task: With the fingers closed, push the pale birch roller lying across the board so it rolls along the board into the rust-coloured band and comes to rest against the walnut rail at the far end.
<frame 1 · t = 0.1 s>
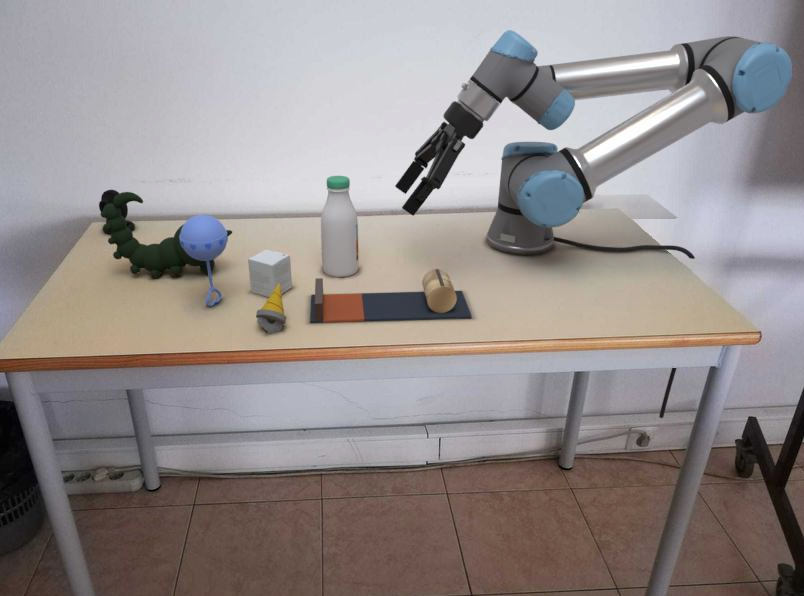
hand: (403, 200, 138), 15 cm above the table, tool tilted 35°, fingers open, 13 cm apart
toy figurine: (176, 273, 145), on the table
roller: (438, 290, 130), point 3 cm above the table, touching board
baby rattle: (212, 306, 132), on the table
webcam: (119, 230, 168), on the table
product box: (272, 291, 138), on the table
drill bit: (271, 326, 125), on the table
milk bottle: (340, 271, 146), on the table
board: (389, 307, 131), on the table
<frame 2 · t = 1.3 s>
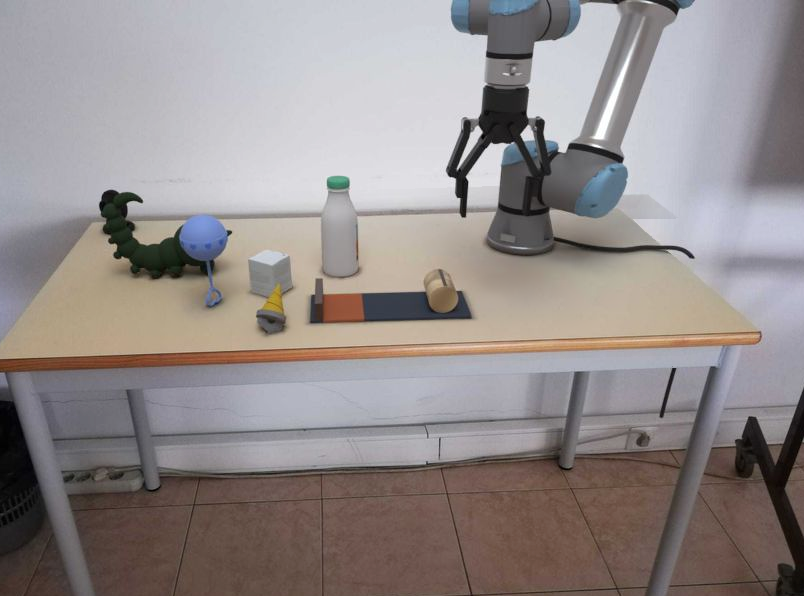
hand: (494, 214, 123), 18 cm above the table, tool pointing down, fingers open, 11 cm apart
roller: (440, 290, 130), point 3 cm above the table, tilted 6°, touching board
everything else where it was.
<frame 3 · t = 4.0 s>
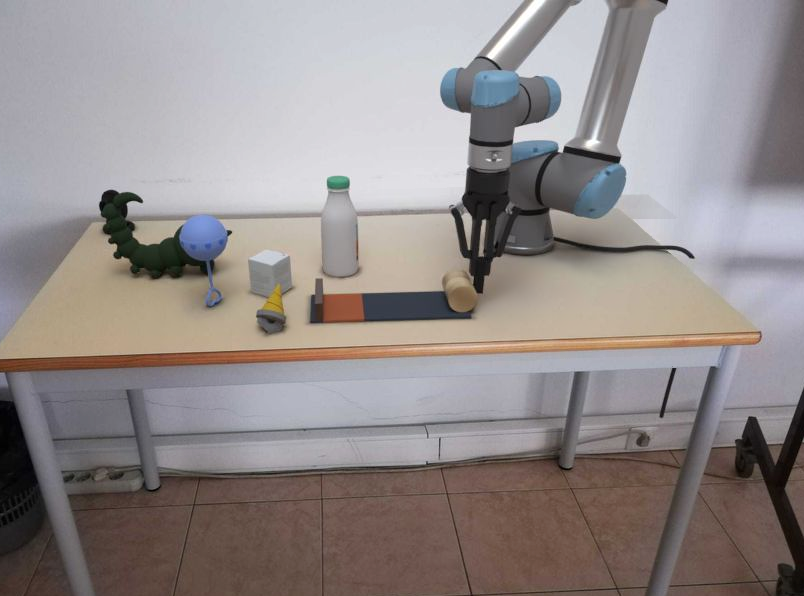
hand: (477, 290, 130), 3 cm above the table, tool pointing down, fingers closed
roller: (459, 290, 130), point 3 cm above the table, tilted 90°, touching board
everything else where it was.
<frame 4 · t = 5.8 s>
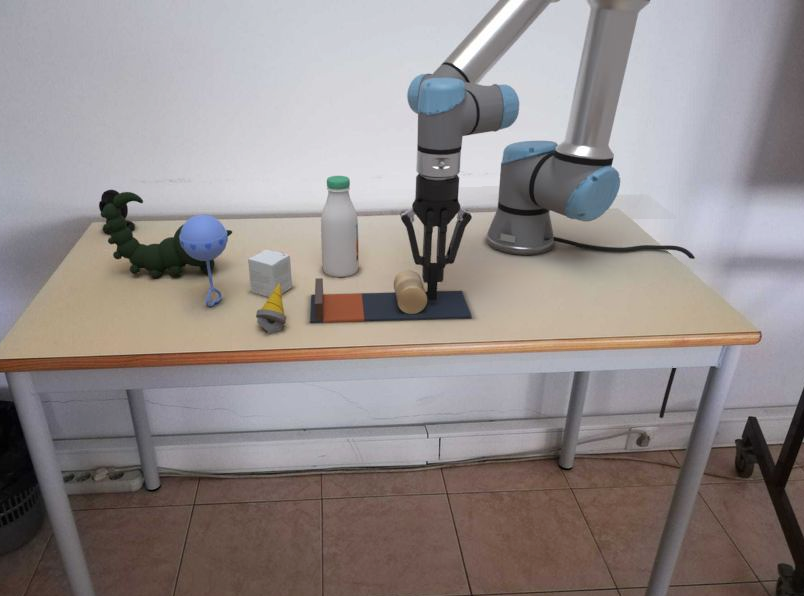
hand: (431, 296, 130), 2 cm above the table, tool pointing down, fingers closed
roller: (410, 291, 129), point 3 cm above the table, tilted 107°, touching board
everything else where it was.
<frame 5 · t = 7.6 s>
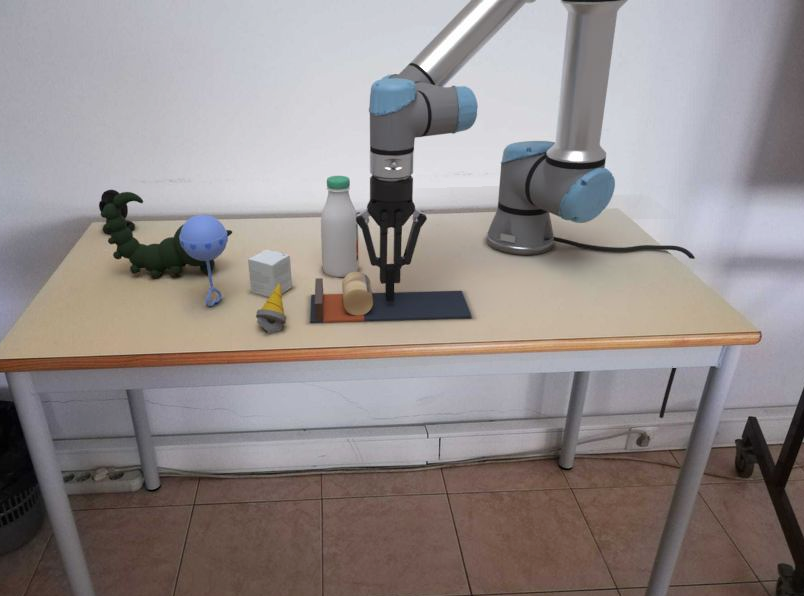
hand: (389, 297, 130), 2 cm above the table, tool pointing down, fingers closed
roller: (357, 293, 129), point 3 cm above the table, tilted 45°, touching board
everything else where it was.
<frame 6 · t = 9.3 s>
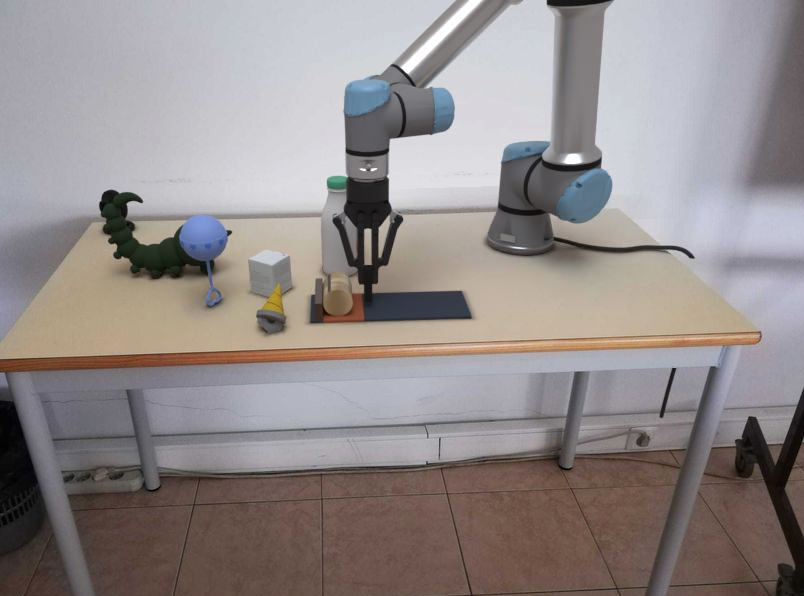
hand: (368, 298, 130), 2 cm above the table, tool pointing down, fingers closed
roller: (337, 293, 129), point 3 cm above the table, tilted 33°, touching board
everything else where it was.
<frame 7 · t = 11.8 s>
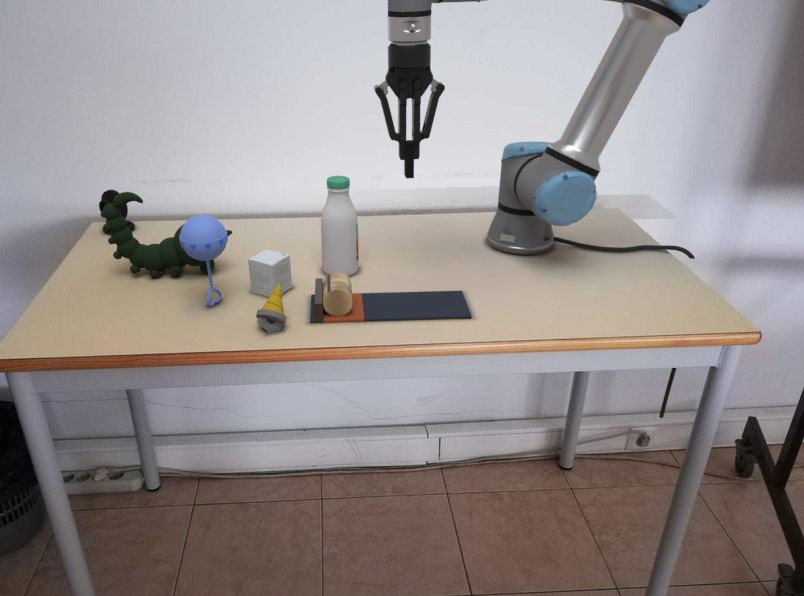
hand: (409, 176, 131), 22 cm above the table, tool pointing down, fingers closed
nothing on the table moved.
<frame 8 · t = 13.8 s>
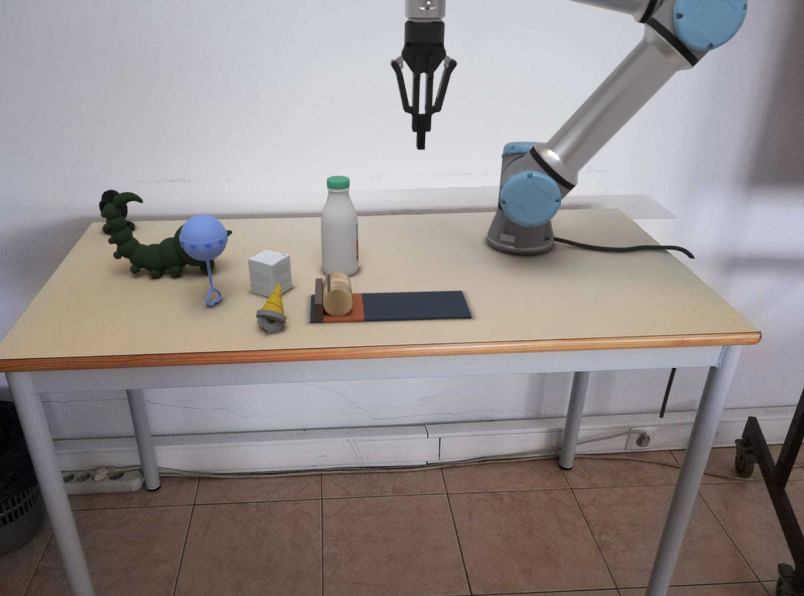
hand: (420, 148, 139), 24 cm above the table, tool pointing down, fingers closed
nothing on the table moved.
at the end: roller inside the target area (1.3 cm from its centre), point 3.2 cm above the table; roller moved 19.3 cm from its start; roller touching board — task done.
